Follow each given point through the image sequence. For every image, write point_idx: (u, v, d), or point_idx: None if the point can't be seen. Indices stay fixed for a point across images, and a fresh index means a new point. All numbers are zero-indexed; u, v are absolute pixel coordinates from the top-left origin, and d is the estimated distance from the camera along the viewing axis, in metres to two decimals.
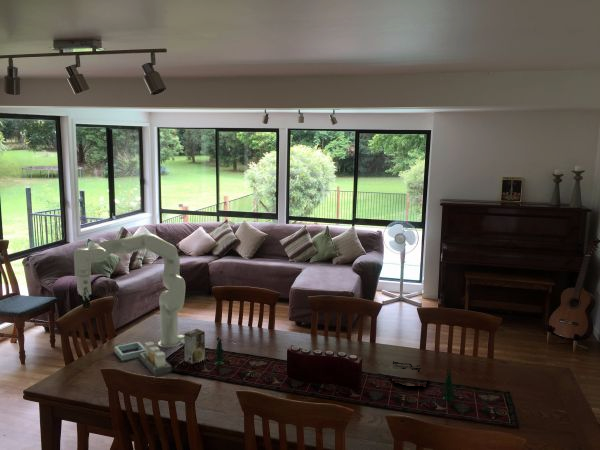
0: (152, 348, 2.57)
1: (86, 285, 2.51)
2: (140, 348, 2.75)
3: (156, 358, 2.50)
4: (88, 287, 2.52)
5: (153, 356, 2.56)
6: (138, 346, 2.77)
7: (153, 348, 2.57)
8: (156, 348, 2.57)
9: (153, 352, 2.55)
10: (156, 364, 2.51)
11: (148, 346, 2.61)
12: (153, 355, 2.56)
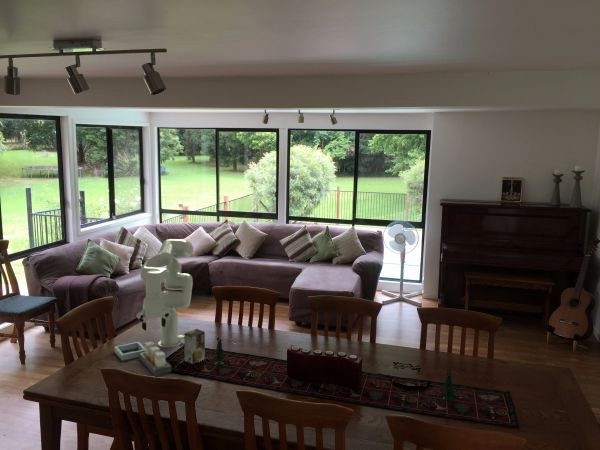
0: (152, 348, 2.57)
1: None
2: (140, 348, 2.75)
3: (156, 358, 2.50)
4: None
5: (153, 356, 2.56)
6: (138, 346, 2.77)
7: (153, 348, 2.57)
8: (156, 348, 2.57)
9: (153, 352, 2.55)
10: (156, 364, 2.51)
11: (148, 346, 2.61)
12: (153, 355, 2.56)
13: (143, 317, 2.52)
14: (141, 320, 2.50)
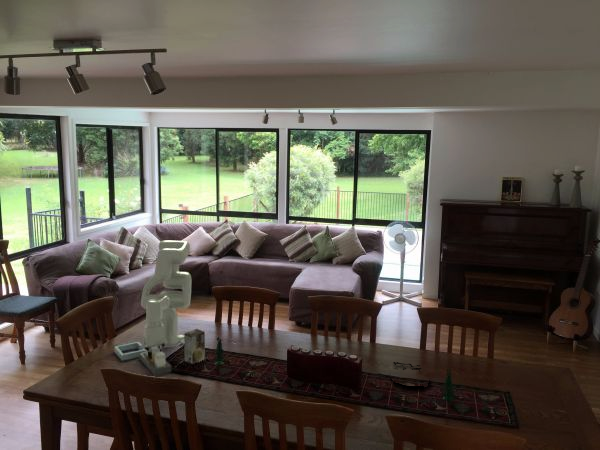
0: (152, 348, 2.57)
1: None
2: (140, 348, 2.75)
3: (156, 358, 2.50)
4: None
5: (153, 356, 2.56)
6: (138, 346, 2.77)
7: (153, 348, 2.57)
8: (156, 348, 2.57)
9: (153, 352, 2.55)
10: (156, 364, 2.51)
11: None
12: (153, 355, 2.55)
13: (147, 346, 2.56)
14: (147, 349, 2.54)
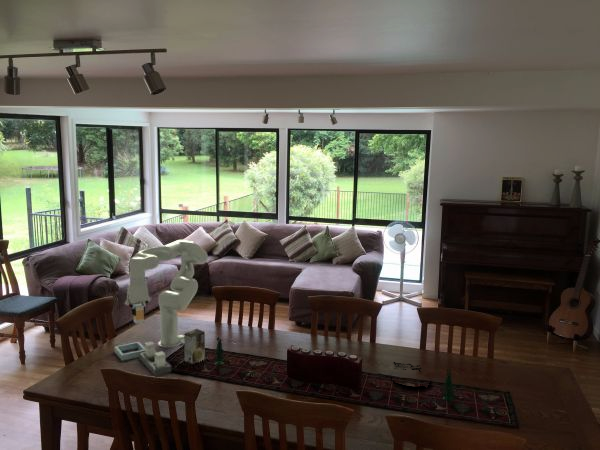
0: (136, 305, 2.62)
1: None
2: (140, 348, 2.75)
3: (156, 358, 2.50)
4: None
5: (137, 313, 2.61)
6: (138, 346, 2.77)
7: (137, 305, 2.62)
8: (140, 305, 2.62)
9: (137, 309, 2.60)
10: (156, 364, 2.51)
11: (148, 346, 2.61)
12: (137, 312, 2.60)
13: (131, 303, 2.61)
14: (131, 306, 2.59)
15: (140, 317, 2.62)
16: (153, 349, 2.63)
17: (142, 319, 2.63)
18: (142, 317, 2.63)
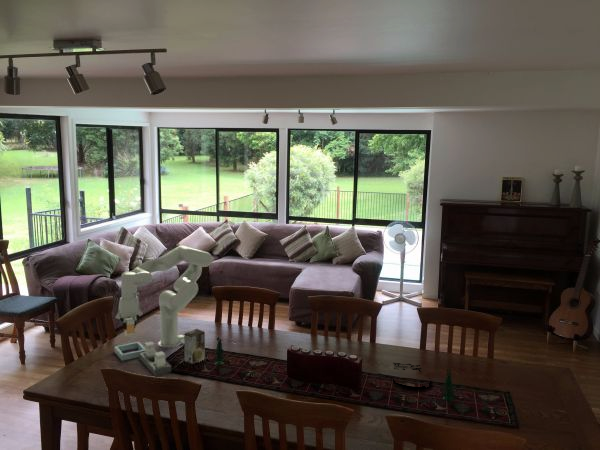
0: (127, 319, 2.68)
1: None
2: (140, 348, 2.75)
3: (156, 358, 2.50)
4: None
5: (128, 327, 2.67)
6: (138, 346, 2.77)
7: (128, 319, 2.69)
8: (131, 319, 2.68)
9: (128, 323, 2.66)
10: (156, 364, 2.51)
11: (148, 346, 2.61)
12: (128, 326, 2.67)
13: (122, 317, 2.67)
14: (122, 320, 2.65)
15: (131, 330, 2.68)
16: (153, 349, 2.63)
17: (133, 333, 2.69)
18: (133, 331, 2.69)
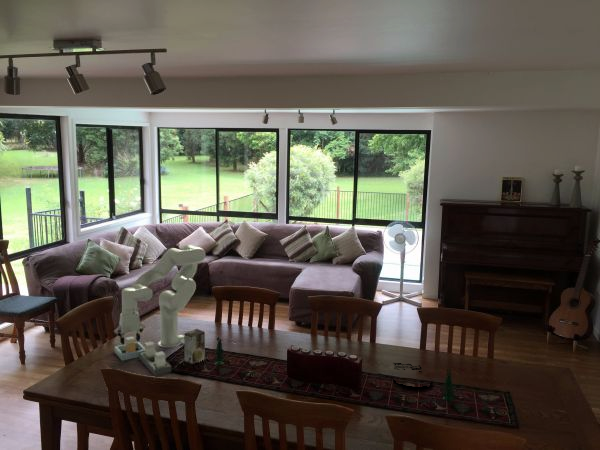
0: (128, 338, 2.70)
1: None
2: (140, 348, 2.75)
3: (156, 358, 2.50)
4: None
5: (129, 345, 2.69)
6: (138, 346, 2.77)
7: (129, 338, 2.70)
8: (132, 338, 2.70)
9: (129, 342, 2.68)
10: (156, 364, 2.51)
11: (148, 346, 2.61)
12: (129, 345, 2.68)
13: (121, 332, 2.68)
14: (119, 335, 2.66)
15: (132, 349, 2.70)
16: (153, 349, 2.63)
17: (134, 351, 2.71)
18: (134, 350, 2.70)
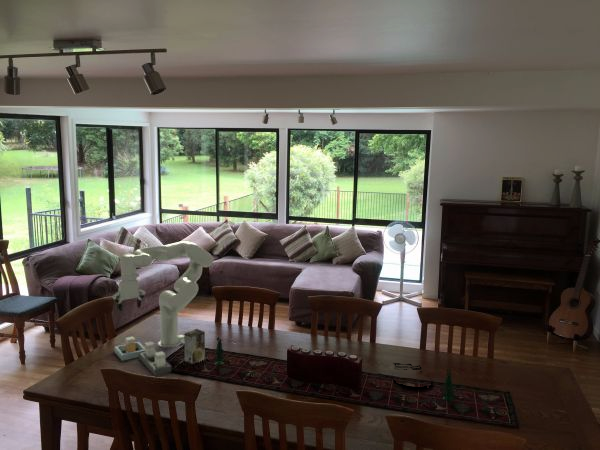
0: (128, 338, 2.70)
1: None
2: (140, 348, 2.75)
3: (156, 358, 2.50)
4: None
5: (129, 345, 2.69)
6: (138, 346, 2.77)
7: (129, 338, 2.70)
8: (132, 338, 2.70)
9: (129, 342, 2.68)
10: (156, 364, 2.51)
11: (148, 346, 2.61)
12: (129, 345, 2.68)
13: (119, 298, 2.64)
14: (117, 301, 2.62)
15: (132, 349, 2.70)
16: (153, 349, 2.63)
17: (134, 351, 2.71)
18: (134, 350, 2.70)
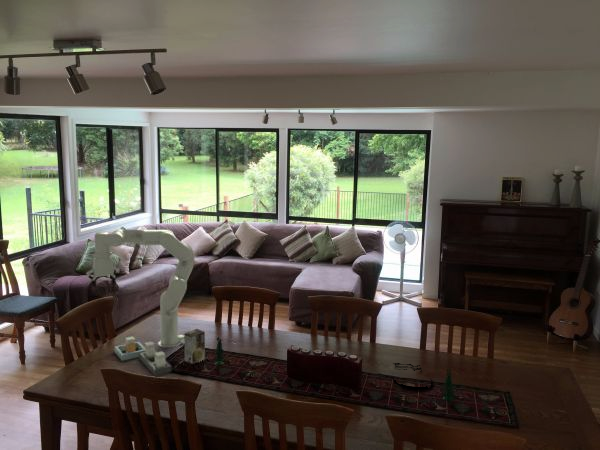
0: (128, 338, 2.70)
1: None
2: (140, 348, 2.75)
3: (156, 358, 2.50)
4: None
5: (129, 345, 2.69)
6: (138, 346, 2.77)
7: (129, 338, 2.70)
8: (132, 338, 2.70)
9: (129, 342, 2.68)
10: (156, 364, 2.51)
11: (148, 346, 2.61)
12: (129, 345, 2.68)
13: (93, 275, 2.70)
14: (91, 278, 2.67)
15: (132, 349, 2.70)
16: (153, 349, 2.63)
17: (134, 351, 2.71)
18: (134, 350, 2.70)
